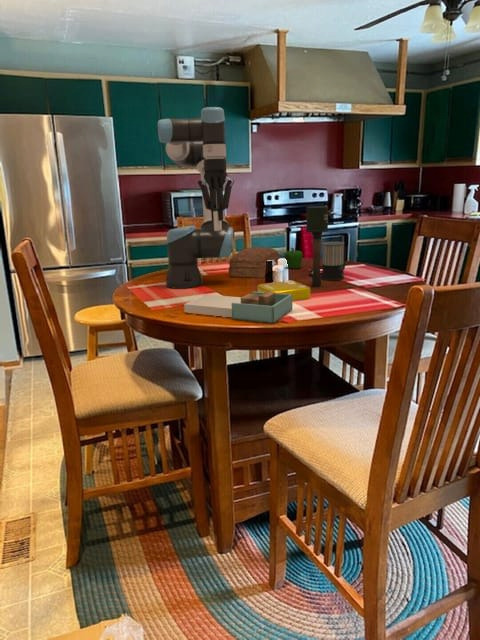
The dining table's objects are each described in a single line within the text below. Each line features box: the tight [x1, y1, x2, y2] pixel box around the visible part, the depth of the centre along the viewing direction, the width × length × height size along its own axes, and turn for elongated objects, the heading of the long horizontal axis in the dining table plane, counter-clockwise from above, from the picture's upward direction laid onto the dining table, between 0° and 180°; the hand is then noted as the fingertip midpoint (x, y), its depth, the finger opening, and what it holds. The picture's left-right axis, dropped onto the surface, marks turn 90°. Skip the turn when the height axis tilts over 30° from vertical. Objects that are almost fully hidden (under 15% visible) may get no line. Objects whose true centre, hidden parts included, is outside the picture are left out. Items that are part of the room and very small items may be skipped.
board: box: [183, 294, 243, 318], centre depth 154 cm, size 17×14×3 cm
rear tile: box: [241, 293, 259, 305], centre depth 148 cm, size 6×6×3 cm
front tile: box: [258, 292, 275, 306], centre depth 146 cm, size 6×6×3 cm
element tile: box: [257, 280, 311, 302], centre depth 169 cm, size 15×15×5 cm
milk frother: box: [308, 241, 347, 281], centre depth 198 cm, size 14×16×15 cm
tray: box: [231, 291, 293, 324], centre depth 147 cm, size 14×16×5 cm
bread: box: [228, 246, 280, 279], centre depth 216 cm, size 17×29×11 cm, turn 160°
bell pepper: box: [284, 247, 303, 270], centre depth 222 cm, size 8×8×10 cm
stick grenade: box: [305, 205, 330, 288], centre depth 180 cm, size 8×9×30 cm
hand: (218, 230), depth 164 cm, fingers closed
